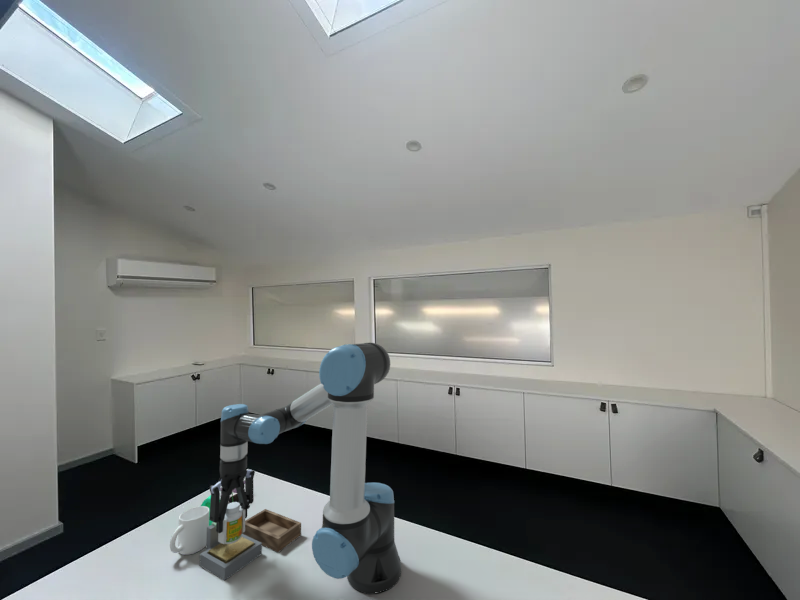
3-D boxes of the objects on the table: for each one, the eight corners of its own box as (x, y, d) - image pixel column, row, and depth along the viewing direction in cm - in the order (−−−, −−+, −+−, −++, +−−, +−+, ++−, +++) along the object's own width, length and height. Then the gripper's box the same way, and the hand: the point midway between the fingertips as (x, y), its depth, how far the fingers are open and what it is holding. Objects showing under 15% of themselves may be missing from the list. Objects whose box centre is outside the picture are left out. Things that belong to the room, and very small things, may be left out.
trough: (301, 535, 109) (301, 522, 110) (277, 552, 101) (278, 538, 101) (265, 520, 118) (265, 508, 118) (241, 535, 110) (241, 522, 110)
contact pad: (253, 547, 100) (254, 542, 100) (226, 566, 93) (226, 560, 93) (235, 538, 104) (236, 534, 105) (208, 555, 97) (208, 550, 97)
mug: (179, 566, 96) (181, 529, 97) (159, 561, 98) (160, 525, 99) (214, 541, 107) (215, 508, 108) (195, 536, 110) (196, 504, 110)
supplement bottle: (228, 547, 95) (228, 512, 96) (217, 540, 98) (218, 507, 99) (245, 536, 100) (246, 503, 100) (235, 531, 103) (235, 498, 103)
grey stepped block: (261, 553, 101) (262, 522, 101) (224, 580, 90) (225, 545, 91) (233, 539, 108) (234, 510, 108) (195, 563, 97) (196, 530, 98)
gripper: (252, 445, 111) (250, 517, 109) (196, 465, 95) (193, 550, 93) (267, 449, 107) (266, 523, 105) (211, 471, 91) (208, 559, 89)
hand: (231, 536), depth 99 cm, fingers closed on supplement bottle, 5 cm apart
